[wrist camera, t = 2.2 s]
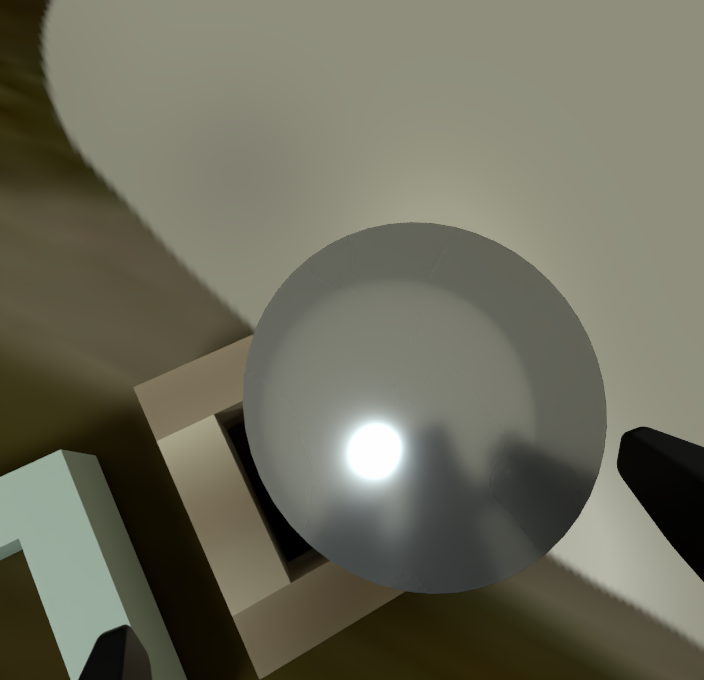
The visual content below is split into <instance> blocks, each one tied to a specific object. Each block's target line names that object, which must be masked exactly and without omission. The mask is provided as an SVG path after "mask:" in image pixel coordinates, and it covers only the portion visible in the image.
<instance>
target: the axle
mask: <svg viewBox="0 0 704 680" xmlns="http://www.w3.org/2000/svg"><path fill="white" fill-rule="evenodd" d="M243 411H244V421H245V430H246V434H247V438H248V442H249V446H250V451H251V455H252V457H253V460H254V462H255V465H256V468H257V470H258V473H259V475H260V478H261V480H262V482H263V484H264V486H265V488H266V489H267V491H268V493H269V495H270V497H271V498H272V500H273V502H274V504H275V505H276V506H277V508H278V509H279V510H280V512H281V513H282V515H283V516H284V517H285V519H286V520H287V521H288V523H289V524H290V525H291V526H292V527H293V528H294V529H295V530H296V531H297V532H298V533H299V534H300V536H301V537H302V538H303V539H304V540H305V541H306V542H307V543H308V544H309V545H311V546H312V547H313V548H314V549H316V550H317V551H318V552H320V553H321V554H322V555H323V556H325V557H326V558H327V559H328V560H330V561H331V562H333V563H335V564H336V565H338V566H340V567H342V568H343V569H345V570H347V571H348V572H350V573H352V574H354V575H356V576H358V577H361V578H363V579H366V580H368V581H371V582H373V583H376V584H378V585H382V586H386V587H390V588H394V589H398V590H402V591H407V592H417V593H427V594H438V593H457V592H462V591H468V590H473V589H478V588H482V587H485V586H488V585H491V584H494V583H496V582H499V581H502V580H505V579H507V578H509V577H511V576H512V575H514V574H516V573H518V572H520V571H522V570H524V569H526V568H527V567H529V566H530V565H531V564H533V563H534V562H535V561H537V560H538V559H540V558H541V557H542V556H544V555H545V554H546V553H547V552H548V551H549V550H550V549H551V548H552V547H553V546H554V545H555V544H556V543H557V542H558V541H559V540H560V539H561V538H562V537H563V536H564V535H565V534H566V533H567V531H568V530H569V529H570V527H571V526H572V525H573V523H574V522H575V520H576V519H577V518H578V517H579V515H580V513H581V511H582V509H583V508H584V506H585V504H586V502H587V500H588V499H589V497H590V494H591V492H592V489H593V486H594V484H595V481H596V479H597V476H598V474H599V470H600V466H601V461H602V457H603V453H604V447H605V437H606V428H607V424H606V400H605V393H604V385H603V379H602V376H601V372H600V368H599V364H598V361H597V357H596V355H595V352H594V350H593V347H592V345H591V342H590V340H589V337H588V335H587V333H586V332H585V330H584V328H583V326H582V324H581V322H580V320H579V319H578V317H577V315H576V314H575V312H574V311H573V309H572V308H571V306H570V305H569V304H568V302H567V301H566V299H565V298H564V297H563V296H562V295H561V293H560V292H559V291H558V290H557V289H556V288H555V286H554V285H553V284H552V283H551V282H550V281H549V280H548V279H547V278H546V277H545V276H544V275H543V274H542V273H540V272H539V271H538V270H537V269H536V268H535V267H534V266H533V265H531V264H530V263H529V262H527V261H526V260H524V259H523V258H522V257H520V256H519V255H518V254H516V253H515V252H513V251H511V250H509V249H508V248H506V247H504V246H502V245H500V244H499V243H497V242H495V241H493V240H490V239H488V238H485V237H483V236H481V235H479V234H476V233H473V232H470V231H466V230H463V229H459V228H456V227H451V226H445V225H439V224H433V223H412V222H411V223H397V224H388V225H383V226H378V227H373V228H368V229H365V230H362V231H359V232H356V233H354V234H351V235H348V236H346V237H344V238H342V239H340V240H337V241H335V242H333V243H331V244H330V245H328V246H326V247H325V248H323V249H322V250H320V251H319V252H317V253H316V254H314V255H313V256H311V257H310V258H308V260H306V261H305V262H304V263H303V264H302V265H301V266H299V267H298V268H297V269H296V270H295V271H294V272H293V273H292V274H291V275H290V276H289V278H288V279H287V280H286V281H285V282H284V283H283V284H282V286H281V287H280V288H279V289H278V290H277V292H276V293H275V295H274V296H273V298H272V299H271V301H270V303H269V304H268V306H267V307H266V309H265V311H264V313H263V315H262V317H261V319H260V321H259V323H258V325H257V328H256V330H255V332H254V336H253V339H252V342H251V345H250V348H249V351H248V355H247V361H246V367H245V373H244V382H243Z"/></svg>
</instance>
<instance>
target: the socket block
mask: <svg viewBox="0 0 704 680" xmlns="http://www.w3.org/2000/svg"><path fill="white" fill-rule="evenodd" d="M22 549H23V551H24V554H25V557H26V559H27V562H28V565H29V568H30V570H31V573H32V576H33V578H34V581H35V584H36V587H37V589H38V592H39V595H40V597H41V600H42V603H43V606H44V608H45V611H46V614H47V616H48V619H49V622H50V624H51V627H52V630H53V633H54V635H55V638H56V641H57V643H58V646H59V649H60V652H61V654H62V657H63V660H64V662H65V665H66V668H67V671H68V673H69V676H70V679H71V680H78V679H79V676H80V674H81V672H82V670H83V668H84V666H85V664H86V661H87V659H88V657H89V655H90V653H91V651H92V649H93V646H94V644H95V642H96V640H97V638H98V637H99V636H100V635H101V634H102V633H104V632H106V631H108V630H111V629H113V628H116V627H119V626H121V625H125V624H126V625H129V626H130V627H131V628H132V629H133V631H134V632H135V634H136V635H137V637H138V638H139V640H140V642H141V643H142V645H143V646H144V648H145V649H146V651H147V653H148V656H149V660H150V665H151V673H152V680H187V678H186V675H185V673H184V671H183V668H182V666H181V663H180V661H179V658H178V656H177V653H176V651H175V648H174V646H173V644H172V641H171V639H170V636H169V634H168V631H167V629H166V626H165V624H164V621H163V619H162V617H161V614H160V612H159V609H158V607H157V604H156V602H155V599H154V597H153V595H152V592H151V590H150V587H149V585H148V582H147V580H146V577H145V575H144V572H143V570H142V568H141V565H140V563H139V560H138V558H137V555H136V553H135V550H134V548H133V545H132V543H131V541H130V538H129V536H128V533H127V531H126V528H125V526H124V523H123V521H122V518H121V516H120V514H119V511H118V509H117V506H116V504H115V501H114V499H113V496H112V494H111V491H110V489H109V487H108V484H107V482H106V479H105V477H104V474H103V472H102V469H101V467H100V465H99V462H98V460H97V457H96V456H95V455H89V454H84V453H78V452H72V451H67V450H58V451H56V452H54V453H52V454H50V455H47V456H45V457H43V458H41V459H39V460H37V461H34V462H32V463H30V464H28V465H26V466H23V467H21V468H19V469H17V470H15V471H12V472H10V473H8V474H6V475H4V476H1V477H0V560H2V559H4V558H6V557H8V556H10V555H12V554H14V553H16V552H18V551H20V550H22Z"/></svg>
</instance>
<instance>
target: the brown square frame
mask: <svg viewBox="0 0 704 680" xmlns="http://www.w3.org/2000/svg"><path fill="white" fill-rule="evenodd" d="M253 336H254V334H253V335H251V336H248V337H246V338H244V339H242V340H239V341H237V342H235V343H233V344H230V345H228V346H226V347H224V348H221V349H219V350H217V351H215V352H212V353H210V354H208V355H205V356H203V357H201V358H199V359H196V360H194V361H192V362H190V363H187V364H185V365H183V366H181V367H178V368H176V369H174V370H172V371H169V372H167V373H165V374H163V375H160V376H158V377H156V378H154V379H151V380H149V381H147V382H145V383H142V384H140V385H138V386H135V387H133V388H134V390H135V392H136V395H137V397H138V399H139V402H140V404H141V406H142V409H143V411H144V413H145V415H146V418H147V420H148V422H149V425H150V427H151V429H152V432H153V434H154V436H155V439H156V441H157V443H158V446H159V448H160V450H161V453H162V455H163V457H164V460H165V462H166V464H167V466H168V469H169V471H170V473H171V476H172V478H173V480H174V483H175V485H176V487H177V490H178V492H179V494H180V497H181V499H182V501H183V504H184V506H185V508H186V510H187V513H188V515H189V517H190V520H191V522H192V524H193V527H194V529H195V531H196V534H197V536H198V538H199V541H200V543H201V545H202V548H203V550H204V552H205V554H206V557H207V559H208V561H209V564H210V566H211V568H212V571H213V573H214V575H215V578H216V580H217V582H218V585H219V587H220V589H221V592H222V594H223V596H224V599H225V601H226V603H227V605H228V608H229V610H230V612H231V615H232V617H233V619H234V622H235V624H236V626H237V629H238V631H239V633H240V636H241V638H242V640H243V643H244V645H245V647H246V649H247V652H248V654H249V656H250V659H251V661H252V663H253V666H254V668H255V670H256V673H257V675H258V677H259V680H260V679H262V678H263V677H265V676H267V675H268V674H270V673H272V672H273V671H275V670H277V669H278V668H280V667H282V666H283V665H285V664H286V663H288V662H290V661H291V660H293V659H295V658H296V657H298V656H300V655H301V654H303V653H305V652H306V651H308V650H310V649H311V648H313V647H314V646H316V645H318V644H319V643H321V642H323V641H324V640H326V639H328V638H329V637H331V636H333V635H334V634H336V633H338V632H339V631H341V630H342V629H344V628H346V627H347V626H349V625H351V624H352V623H354V622H356V621H357V620H359V619H361V618H362V617H364V616H366V615H367V614H369V613H370V612H372V611H374V610H375V609H377V608H379V607H380V606H382V605H384V604H385V603H387V602H389V601H390V600H392V599H394V598H395V597H397V596H399V595H400V594H402V593H403V592H405V591H402V590H398V589H394V588H390V587H386V586H382V585H378V584H376V583H373V582H371V581H368V580H366V579H363V578H361V577H358V576H356V575H354V574H352V573H350V572H348V571H347V570H345V569H343V568H342V567H340V566H338V565H336V564H335V563H333V562H331V561H330V560H328V559H327V558H326V557H325V556H323V555H322V554H321V553H320V552H318V551H317V550H316V549H314V548H313V549H311V550H309V551H307V552H305V553H304V554H302V555H300V556H298V557H297V558H295V559H293V560H291V561H289V562H287V560H286V557H285V555H284V553H283V551H282V549H281V547H280V544H279V542H278V540H277V538H276V536H275V533H274V531H273V529H272V527H271V525H270V523H269V520H268V518H267V516H266V514H265V512H264V509H263V507H262V505H261V503H260V501H259V499H258V496H257V494H256V492H255V490H254V488H253V485H252V483H251V481H250V479H249V477H248V475H247V472H246V470H245V468H244V466H243V464H242V462H241V459H240V457H239V455H238V453H237V451H236V448H235V446H234V444H233V442H232V440H231V438H230V435H229V433H228V431H227V429H229V428H231V427H233V426H235V425H237V424H239V423H242V422H244V411H243V382H244V373H245V367H246V361H247V355H248V351H249V348H250V345H251V342H252V339H253Z"/></svg>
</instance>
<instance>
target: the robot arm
mask: <svg viewBox="0 0 704 680" xmlns="http://www.w3.org/2000/svg"><path fill="white" fill-rule="evenodd" d="M617 468H618V471H619V473H620V475H621V477H622V478H623V480H624V481H625V483H626V484H627V485H628V487H629V488H630V489H631V491H632V492H633V493H634V495H635V496H636V497H637V499H638V500H639V502H640V503H641V505H642V506H643V507H644V509H645V510H646V511H647V513H648V514H649V515H650V517H651V518H652V520H653V521H654V522H655V524H656V525H657V526H658V528H659V529H660V531H661V532H662V533H663V535H664V536H665V537H666V538H667V540H668V541H669V542H670V544H671V545H672V546H673V547H674V549H676V551H677V552H678V553H679V554H680V556H681V557H682V558H683V559H684V560H685V561H686V562H687V564H688V565H689V566H690V567H691V568H692V569H693V570H694V571H695V572H696V574H697V575H698V576H699V577H700V578H701V579H702V580H703V582H704V447H701V446H699V445H696V444H693V443H690V442H688V441H685V440H682V439H679V438H677V437H674V436H671V435H668V434H665V433H663V432H660V431H657V430H654V429H652V428H648V427H638V428H636V429H633V430H630V431H628V432H625V433H624V435H622V438H621V442H620V448H619V453H618V459H617ZM78 680H152V673H151V665H150V660H149V656H148V653H147V651H146V649H145V648H144V646H143V645H142V643H141V642H140V640H139V638H138V637H137V635H136V634H135V632H134V631H133V629H132V628H131V627H130V626H129V625H126V624H125V625H121V626H119V627H116V628H113V629H111V630H108V631H106V632H104V633H102V634H101V635H100V636H99V637H98V638H97V640H96V642H95V644H94V646H93V649H92V651H91V653H90V655H89V657H88V659H87V661H86V664H85V666H84V668H83V670H82V672H81V674H80V676H79V679H78Z"/></svg>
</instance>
